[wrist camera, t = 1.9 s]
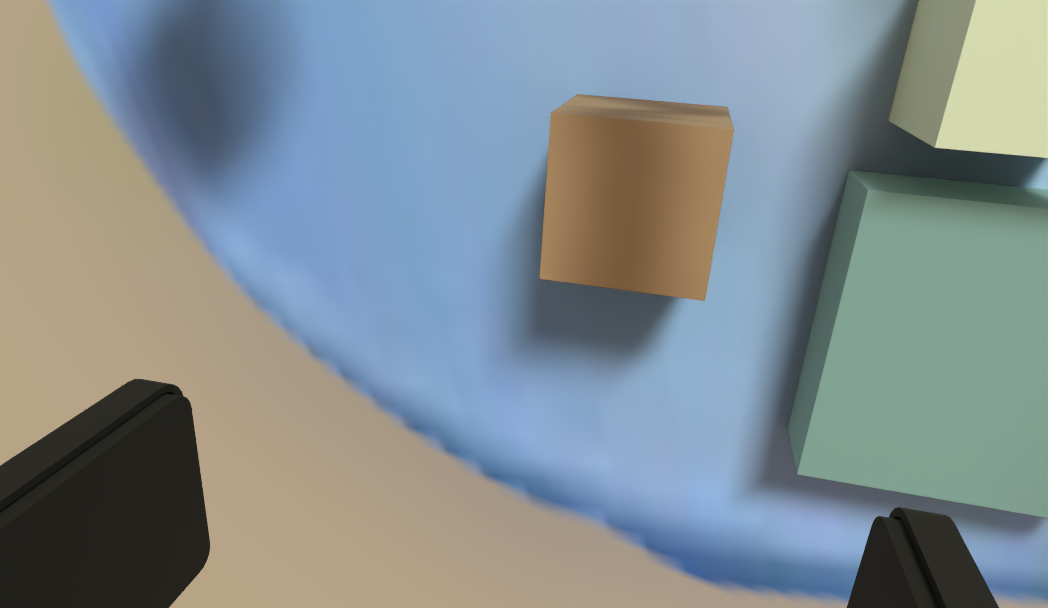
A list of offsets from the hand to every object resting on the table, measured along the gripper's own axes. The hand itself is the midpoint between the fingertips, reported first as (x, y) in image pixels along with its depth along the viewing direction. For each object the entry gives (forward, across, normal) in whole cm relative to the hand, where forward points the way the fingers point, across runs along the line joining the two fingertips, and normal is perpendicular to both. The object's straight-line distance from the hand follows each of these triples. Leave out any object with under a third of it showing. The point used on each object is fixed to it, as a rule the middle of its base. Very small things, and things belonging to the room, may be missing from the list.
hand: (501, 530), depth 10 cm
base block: (+23, -15, +5) cm, 28 cm away
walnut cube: (+23, -1, 0) cm, 23 cm away
